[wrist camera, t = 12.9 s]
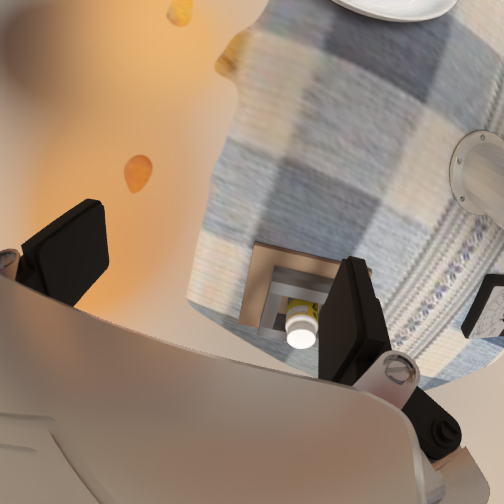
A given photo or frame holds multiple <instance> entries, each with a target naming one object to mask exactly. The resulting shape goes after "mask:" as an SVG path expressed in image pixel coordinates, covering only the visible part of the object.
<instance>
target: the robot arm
mask: <svg viewBox="0 0 504 504" xmlns="http://www.w3.org/2000/svg"><path fill="white" fill-rule="evenodd" d="M457 159H458V160H457ZM450 184H451V188H452V192H453V194H454V196H455V198H456V200H457V201H458V203H459V204H460V205H461V206H462V207H463V208H464V209H465V210H467V211H468V212H470V213H472V214H474V215H488V216H489V217H490V218H491V219H492V220H493V221H494V222H495V223H497V224H498V225H499V226H500V227H501V228H502V229H503V230H504V141H503V139H501V138H500V137H499V136H498V135H496V134H494V133H492V132H488V131H475V132H473V133H471V134H469V135H467V136H466V137H465V138H464V139H463V140H462V141H461V142H460V143H459V144H458V146H457V148H456V150H455V152H454V154H453V157H452V160H451V166H450ZM21 247H22V251H23V255H22V256H21V257H20V253H19V252H18V250H16V249H5V250H2V251H0V504H487V502H488V500H489V496H490V487H489V484H488V482H487V481H486V479H485V477H484V475H483V474H482V472H481V470H480V469H479V467H478V465H477V464H476V462H475V460H474V459H473V457H472V456H471V454H470V453H469V451H468V449H467V448H466V446H465V447H464V448H461V446H460V443H461V437H462V433H461V429H460V426H459V424H458V422H457V421H456V420H455V419H454V418H453V417H452V416H451V415H450V414H449V413H447V412H446V411H445V410H444V409H443V408H442V407H441V406H440V405H438V404H437V403H436V402H435V401H434V400H433V399H432V398H431V397H429V396H428V395H427V394H426V393H425V392H424V391H423V390H421V389H420V388H419V387H418V386H417V385H418V383H419V380H420V371H419V368H418V366H417V364H416V363H415V361H414V360H413V359H412V358H411V357H409V356H408V355H406V354H405V353H403V352H399V351H393V350H392V348H391V344H390V340H389V335H388V331H387V327H386V323H385V319H384V316H383V312H382V308H381V304H380V301H379V299H377V298H376V297H375V293H374V289H373V286H372V282H371V279H370V275H369V272H368V269H367V265H366V262H365V260H364V259H361V258H357V257H352V256H349V257H348V258H347V259H342V261H341V264H340V266H339V269H338V271H337V274H336V276H335V279H334V281H333V284H332V286H331V289H330V291H329V294H328V296H327V299H326V301H325V303H324V306H323V308H322V310H321V313H320V316H319V321H318V339H319V364H318V379H317V378H312V377H307V376H303V375H297V374H293V373H288V372H283V371H278V370H274V369H269V368H264V367H260V366H256V365H252V364H247V363H243V362H239V361H235V360H231V359H227V358H223V357H219V356H215V355H212V354H208V353H204V352H201V351H197V350H194V349H190V348H187V347H184V346H180V345H177V344H173V343H170V342H167V341H164V340H160V339H158V338H155V337H152V336H148V335H146V334H142V333H140V332H137V331H134V330H131V329H128V328H125V327H123V326H120V325H117V324H114V323H112V322H109V321H106V320H104V319H101V318H99V317H96V316H94V315H91V314H89V313H86V312H83V311H81V310H79V309H76V308H74V305H75V304H76V303H77V302H78V301H79V300H80V298H81V297H82V296H83V295H84V294H85V292H86V291H87V290H88V289H89V288H90V287H91V286H92V284H93V283H95V281H96V280H97V279H98V278H99V277H100V276H101V275H102V274H103V273H104V271H105V270H106V269H107V268H108V266H109V255H108V246H107V235H106V225H105V211H104V206H103V205H102V203H101V202H100V201H98V200H94V199H86V200H84V201H83V202H81V203H79V204H78V205H76V206H75V207H73V208H72V209H70V210H69V211H67V212H66V213H64V214H63V215H62V216H60V217H59V218H57V219H56V220H54V221H53V222H52V223H50V224H49V225H47V226H46V227H45V228H43V229H42V230H41V231H39V232H38V233H36V234H35V235H34V236H33V237H31V238H30V239H29V240H27V241H26V242H25V243H23V244H22V245H21Z"/></svg>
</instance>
